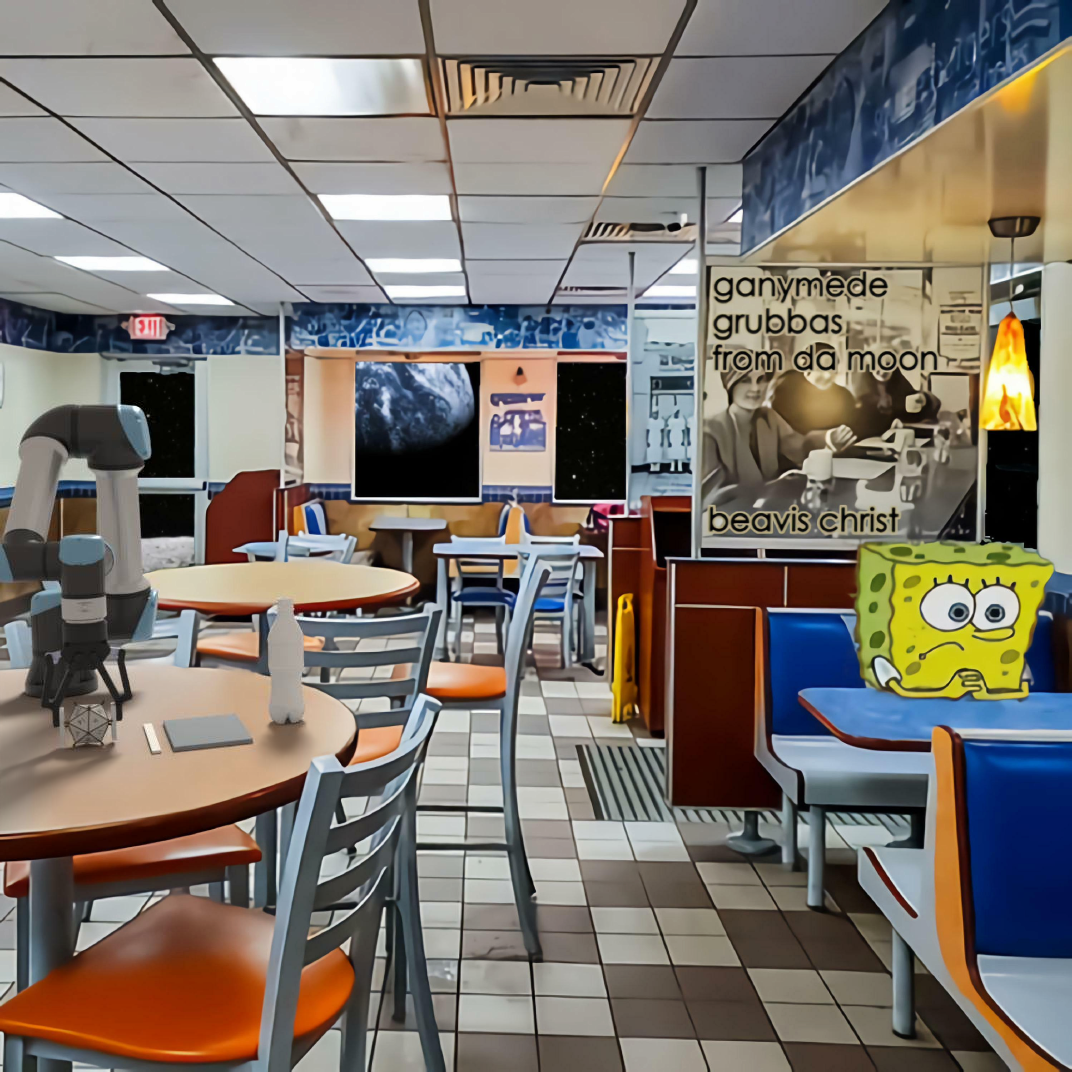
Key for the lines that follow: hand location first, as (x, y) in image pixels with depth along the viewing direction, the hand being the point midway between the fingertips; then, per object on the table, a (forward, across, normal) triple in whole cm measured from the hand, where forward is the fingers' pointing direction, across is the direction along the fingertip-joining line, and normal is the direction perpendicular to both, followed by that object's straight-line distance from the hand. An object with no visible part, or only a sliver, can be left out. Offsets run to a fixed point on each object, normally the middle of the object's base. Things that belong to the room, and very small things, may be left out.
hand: (88, 740), depth 195 cm
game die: (+1, 0, 0) cm, 1 cm away
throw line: (+1, +11, 0) cm, 11 cm away
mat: (+1, +21, 0) cm, 21 cm away
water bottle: (+1, +37, +3) cm, 37 cm away
